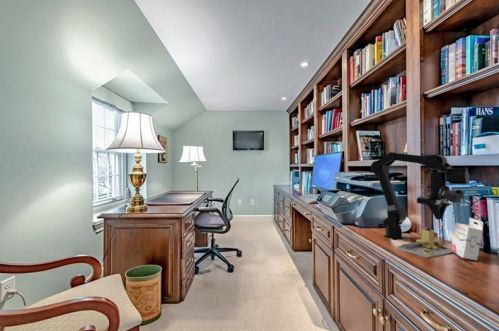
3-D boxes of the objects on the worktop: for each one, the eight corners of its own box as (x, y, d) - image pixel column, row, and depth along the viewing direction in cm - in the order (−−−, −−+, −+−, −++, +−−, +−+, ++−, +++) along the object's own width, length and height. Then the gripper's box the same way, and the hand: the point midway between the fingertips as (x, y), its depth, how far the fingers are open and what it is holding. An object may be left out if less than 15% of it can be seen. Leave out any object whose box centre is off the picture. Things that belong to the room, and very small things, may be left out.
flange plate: (397, 248, 109) (397, 246, 109) (429, 243, 114) (429, 241, 114) (426, 258, 96) (426, 256, 96) (460, 251, 102) (460, 250, 102)
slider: (416, 244, 110) (415, 225, 110) (421, 243, 111) (420, 225, 111) (433, 249, 103) (432, 229, 103) (438, 248, 104) (438, 228, 104)
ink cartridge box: (449, 250, 101) (456, 214, 101) (463, 253, 100) (470, 217, 100) (462, 258, 93) (469, 219, 92) (477, 261, 92) (485, 222, 91)
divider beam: (400, 247, 108) (400, 241, 108) (431, 242, 113) (431, 236, 113) (417, 252, 100) (417, 246, 100) (449, 247, 106) (448, 241, 106)
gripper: (441, 185, 99) (442, 225, 98) (473, 183, 104) (474, 221, 104) (415, 184, 109) (416, 219, 109) (445, 182, 115) (446, 216, 115)
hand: (439, 219), depth 109 cm, fingers closed
